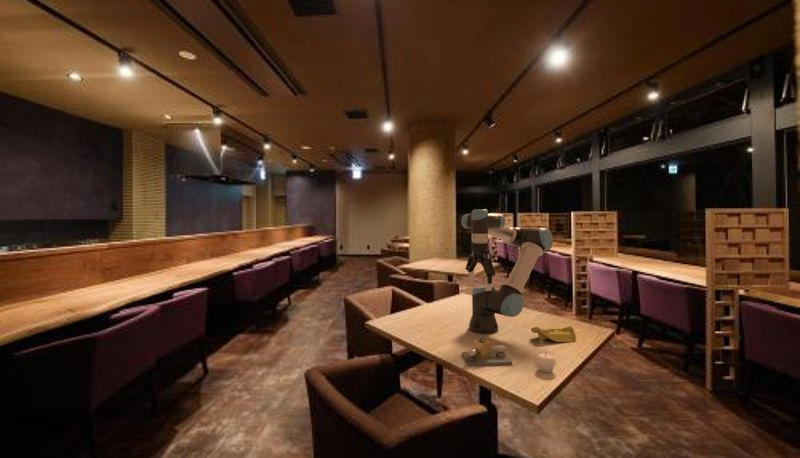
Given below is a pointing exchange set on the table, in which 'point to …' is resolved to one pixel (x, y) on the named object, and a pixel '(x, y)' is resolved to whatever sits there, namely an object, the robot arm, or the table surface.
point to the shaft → (472, 355)
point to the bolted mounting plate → (491, 358)
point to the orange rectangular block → (483, 348)
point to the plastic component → (556, 334)
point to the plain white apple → (545, 362)
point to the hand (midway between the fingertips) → (479, 287)
